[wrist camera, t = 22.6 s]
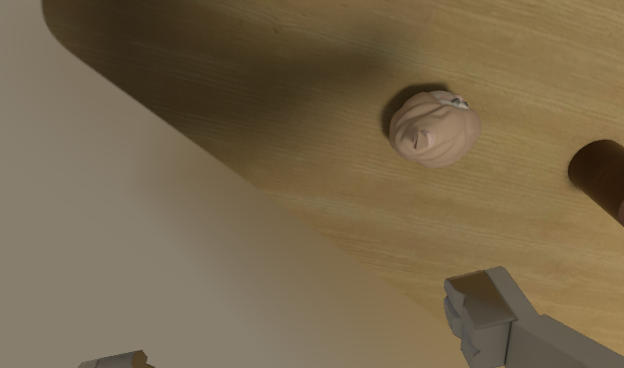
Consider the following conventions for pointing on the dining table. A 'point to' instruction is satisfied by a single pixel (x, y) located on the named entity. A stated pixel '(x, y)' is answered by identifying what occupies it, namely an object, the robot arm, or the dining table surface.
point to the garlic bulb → (434, 129)
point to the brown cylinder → (601, 175)
